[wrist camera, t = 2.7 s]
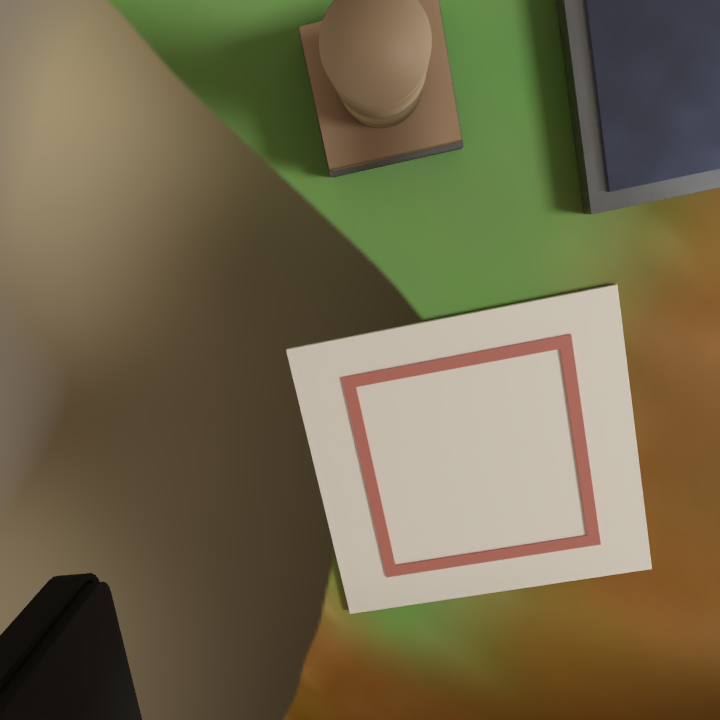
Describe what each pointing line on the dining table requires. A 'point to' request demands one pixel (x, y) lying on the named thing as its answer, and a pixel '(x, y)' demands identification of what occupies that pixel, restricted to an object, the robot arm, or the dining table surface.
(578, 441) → the paper sheet
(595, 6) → the ink pad
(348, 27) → the stamp
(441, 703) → the dining table surface
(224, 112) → the dining table surface
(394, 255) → the dining table surface
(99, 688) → the robot arm
